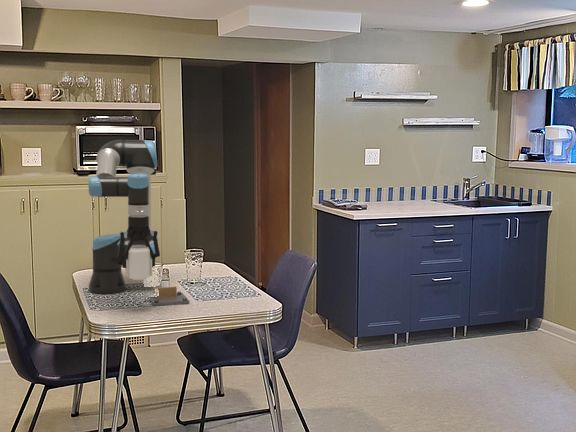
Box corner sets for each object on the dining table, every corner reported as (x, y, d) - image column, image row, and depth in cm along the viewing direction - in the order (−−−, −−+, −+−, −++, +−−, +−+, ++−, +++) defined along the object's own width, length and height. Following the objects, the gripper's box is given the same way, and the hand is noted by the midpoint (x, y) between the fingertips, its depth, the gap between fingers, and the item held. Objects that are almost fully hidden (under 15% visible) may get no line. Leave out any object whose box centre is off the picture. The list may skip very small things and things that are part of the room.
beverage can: (140, 274, 269) (140, 243, 267) (154, 278, 264) (154, 246, 262) (123, 277, 263) (123, 246, 261) (137, 281, 258) (137, 249, 256)
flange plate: (153, 306, 270) (153, 295, 270) (147, 297, 283) (147, 288, 283) (189, 303, 275) (189, 293, 274) (182, 295, 288) (182, 286, 287)
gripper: (110, 218, 253) (111, 279, 256) (168, 216, 260) (168, 276, 263) (108, 215, 260) (109, 275, 263) (164, 213, 267) (164, 272, 270)
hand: (138, 275), depth 263 cm, fingers closed on beverage can, 8 cm apart
